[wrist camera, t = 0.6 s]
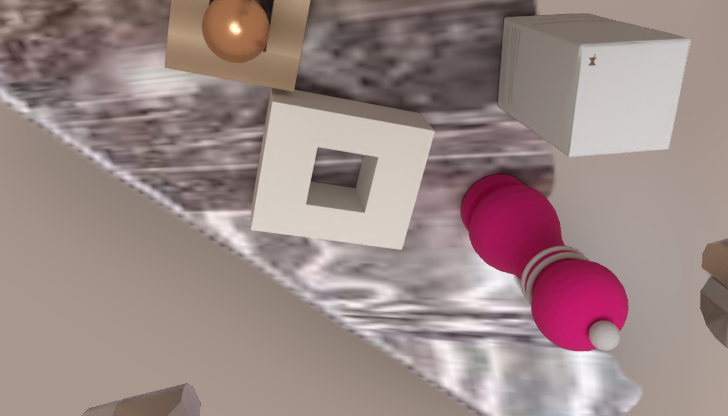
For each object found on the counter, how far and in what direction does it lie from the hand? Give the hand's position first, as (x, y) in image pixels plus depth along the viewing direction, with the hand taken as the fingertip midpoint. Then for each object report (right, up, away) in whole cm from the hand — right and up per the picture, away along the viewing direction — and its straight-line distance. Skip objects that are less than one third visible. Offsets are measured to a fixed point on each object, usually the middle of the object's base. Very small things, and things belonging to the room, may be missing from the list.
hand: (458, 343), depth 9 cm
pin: (-10, +16, +34) cm, 39 cm away
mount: (-10, +16, +34) cm, 39 cm away
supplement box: (+13, +14, +39) cm, 44 cm away
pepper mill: (+10, +2, +44) cm, 45 cm away
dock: (-4, +6, +40) cm, 41 cm away
